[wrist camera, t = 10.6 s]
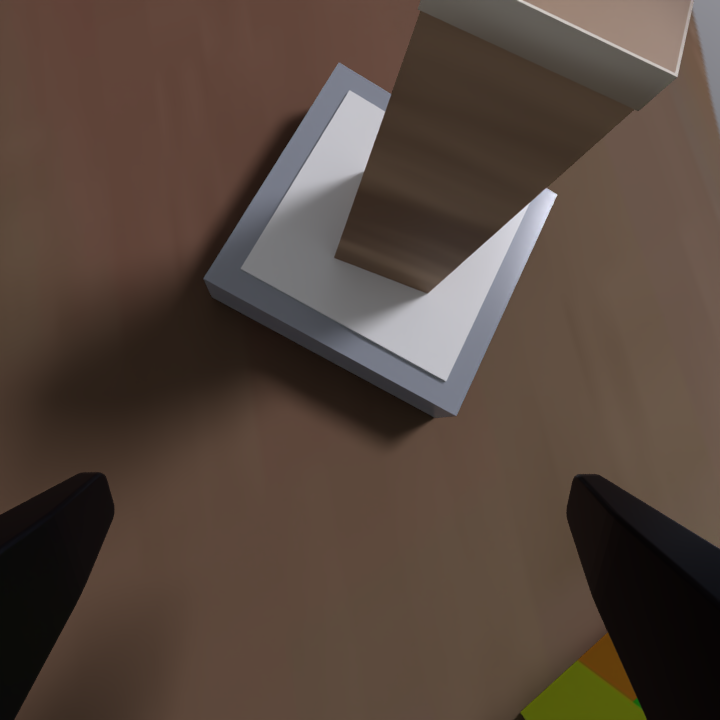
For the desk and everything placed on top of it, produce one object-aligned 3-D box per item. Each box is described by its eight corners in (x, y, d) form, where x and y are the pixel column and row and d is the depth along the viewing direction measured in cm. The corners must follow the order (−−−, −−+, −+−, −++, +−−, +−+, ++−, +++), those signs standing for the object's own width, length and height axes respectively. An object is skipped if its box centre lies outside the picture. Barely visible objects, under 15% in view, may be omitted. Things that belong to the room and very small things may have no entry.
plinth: (435, 417, 21) (457, 415, 18) (211, 297, 20) (202, 277, 17) (527, 219, 23) (559, 192, 21) (331, 102, 22) (339, 59, 20)
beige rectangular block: (428, 295, 19) (677, 77, 7) (332, 258, 18) (434, -40, 7) (455, 206, 20) (719, -117, 8) (364, 169, 19) (504, -234, 8)
